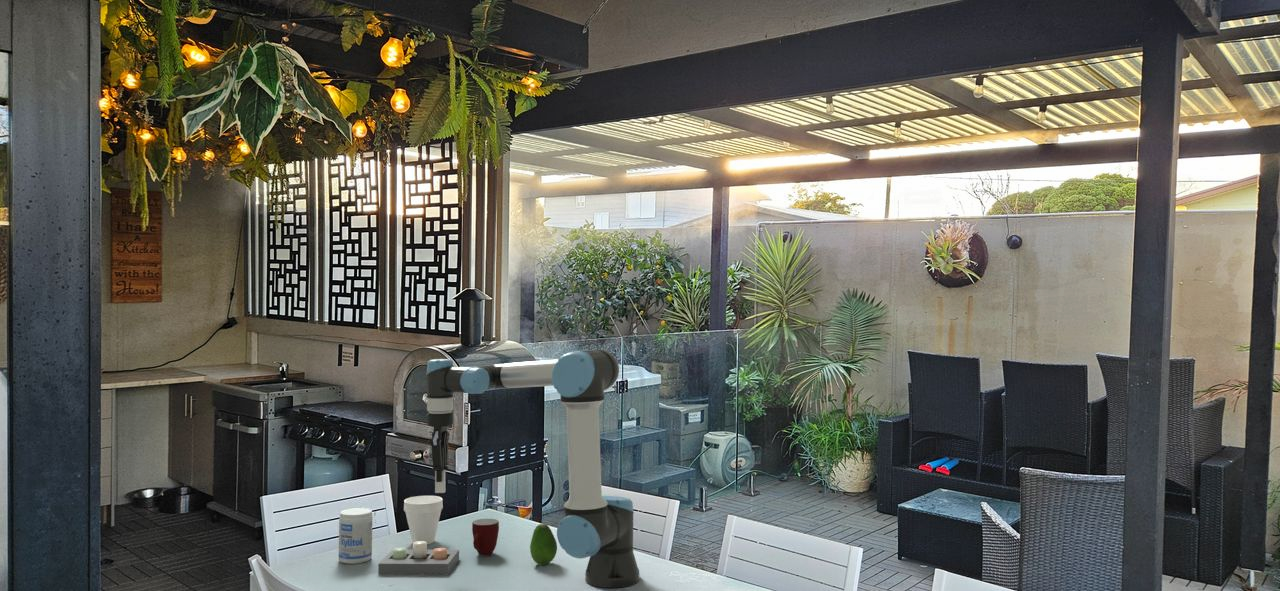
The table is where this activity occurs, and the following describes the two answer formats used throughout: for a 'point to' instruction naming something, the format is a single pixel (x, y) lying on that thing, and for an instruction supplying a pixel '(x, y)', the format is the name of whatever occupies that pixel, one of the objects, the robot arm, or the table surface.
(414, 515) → the cup
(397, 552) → the button sage
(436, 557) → the button terracotta
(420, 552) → the button cream
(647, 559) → the table surface
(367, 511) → the supplement tub
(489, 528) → the mug
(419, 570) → the button panel
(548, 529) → the fruit
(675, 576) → the table surface
